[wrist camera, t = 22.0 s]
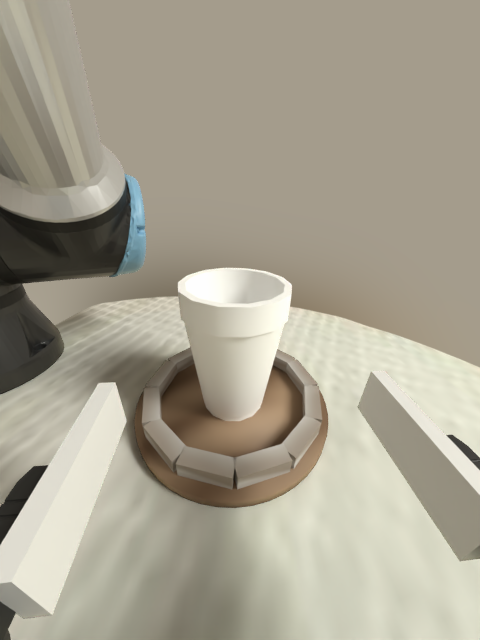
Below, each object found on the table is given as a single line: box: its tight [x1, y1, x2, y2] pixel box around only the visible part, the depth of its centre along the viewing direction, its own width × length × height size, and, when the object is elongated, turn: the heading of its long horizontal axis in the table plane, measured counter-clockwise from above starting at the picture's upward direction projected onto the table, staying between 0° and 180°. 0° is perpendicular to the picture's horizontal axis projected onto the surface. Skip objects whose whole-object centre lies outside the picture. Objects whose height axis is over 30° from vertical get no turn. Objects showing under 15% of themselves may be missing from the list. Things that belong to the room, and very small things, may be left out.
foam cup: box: [178, 268, 292, 421], centre depth 23 cm, size 10×9×13 cm
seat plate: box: [135, 347, 328, 508], centre depth 26 cm, size 20×20×2 cm
